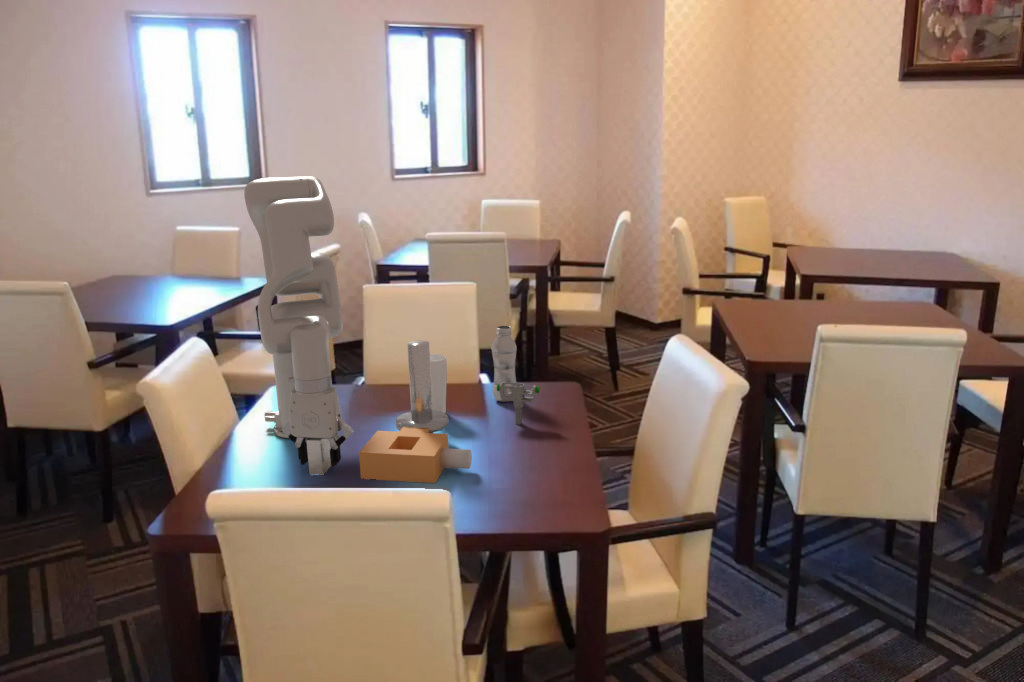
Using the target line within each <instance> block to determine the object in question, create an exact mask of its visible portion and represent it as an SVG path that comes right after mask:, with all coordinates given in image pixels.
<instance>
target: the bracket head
mask: <svg viewBox="0 0 1024 682" xmlns="http://www.w3.org/2000/svg"><path fill="white" fill-rule="evenodd" d="M417 428H418V427H417ZM449 445H450V444H449V433H438V432H437V433H436V432H433V433H429V428H425V429H424V428H422V427H421V429H420V427H419V429H415V427H414V428H413V427H412V428H411V427H409V428H406V427H403V428H402V429H401V430H398V431H395V430H394V431H390V430H377V431H376V432H375V433H374V434H373V436H371V438H370V439H369V440H368V441H367V442H366V443H365V444H364V446H363V447H362V448H361V450H360V451H359V452H358V456H359V470H360V471H359V474H360V479H361V480H370V479H376V480H375V481H388V482H389V481H392V482H407V483H408V482H409V483H411V482H412V483H428V484H436V483H437V481H438V479H439V478H440V476H441V475H442V473H443V471H444V469H445V468H448V469H463V470H465V469H467V470H469V469H471V467H472V456H473V455H472V450H471V449H468V448H466V449H462V448H449ZM363 478H364V479H363Z"/></svg>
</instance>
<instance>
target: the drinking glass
mask: <svg viewBox="0 0 1024 682" xmlns="http://www.w3.org/2000/svg"><path fill="white" fill-rule="evenodd" d="M430 372H431V394H432V410H434V411H439V412H443V413H445V414H446V411H447V409H446V405H447V403H446V402H447V381H448V363H447V356H446V355H444V354H441V353H440V354H439V353H430Z"/></svg>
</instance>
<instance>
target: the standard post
mask: <svg viewBox="0 0 1024 682" xmlns="http://www.w3.org/2000/svg"><path fill="white" fill-rule="evenodd" d="M430 354H431V353H430V341H428V340H413V341H409V342H408V343H407V359H408V375H409V376H408V377H409V378H408V379H409V380H408V381H409V382H408V383H409V396H410V398H409V399H410V411H408V412H405V413H402V414H399V416H397V418H395V427H396V429H397V430H398V431H400V430H401V429H402V428H403V427H406V428H409V427H411V428H412V427H413V428H414V427H415V429H419V427H420V429H421V427H422V428H424V429H425V428H429V433H436V432H437V433H438V432H439V431H442V430H444V429H445V428H447V427H448V426H449V422H450V421H449V416H448V415H447V414H446V412H445V413H443V412H439V411H434V410H432V394H431V372H430ZM417 427H418V428H417Z"/></svg>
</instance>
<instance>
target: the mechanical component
mask: <svg viewBox="0 0 1024 682" xmlns="http://www.w3.org/2000/svg"><path fill="white" fill-rule="evenodd" d="M507 389H509V390H511V393H509V392H507ZM540 390H541V388H540V386H539V385H535V384H533V385H532V388H531V389H527V388H526V387H525V384H524V383H522V382H516V383H506V382H502V383H501V384H500V385H497V391H500V397H501V399H502V400H504V401H509V402H513V404H512V406H513V407H514V408H515V424H516V425H517V426H518V425H519V426H520V425H522V423H523V407H524V406H525V405H524V403H532V402H534V401H535V399H536V397H537V395H538V394H539V393H540ZM525 395H526V396H525Z"/></svg>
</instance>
